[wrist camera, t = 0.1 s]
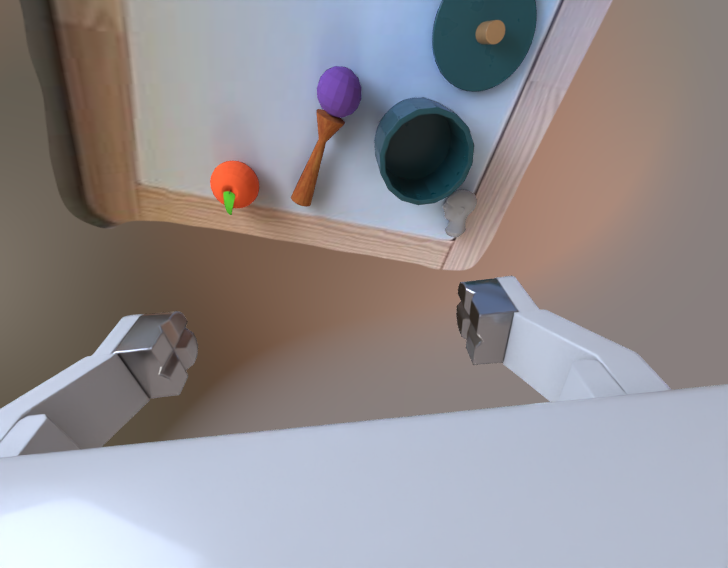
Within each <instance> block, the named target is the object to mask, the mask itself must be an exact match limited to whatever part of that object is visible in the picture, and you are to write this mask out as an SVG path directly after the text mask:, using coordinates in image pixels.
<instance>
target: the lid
mask: <svg viewBox="0 0 728 568" xmlns="http://www.w3.org/2000/svg"><path fill="white" fill-rule="evenodd" d="M536 19H537V10H536V2H535V0H443V1H442V2H441V4H440V7H439V9H438V12H437V14H436V18H435V21H434V27H433V35H432V45H433V53H434V57H435V61H436V64H437V66H438V68H439V70H440V72H441V73H442V75H443V76H444V77H445V79H447V80H448V81H449V82H450V83H451V84H452V85H454V86H456V87H458V88H460V89H463V90H466V91H483V90H487V89H490V88H493V87H495V86H497V85H499V84H500V83H502V82H503V81H505V80H506V79H507V78H508V77H510V76H511V75H512V74H513V73H514V72H515V70H516V69H517V68H518V67H519V66H520V64H521V63H522V61H523V60H524V58H525V56H526V54H527V52H528V50H529V48H530V46H531V43H532V40H533V37H534V33H535V28H536Z"/></svg>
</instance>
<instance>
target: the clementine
mask: <svg viewBox="0 0 728 568" xmlns="http://www.w3.org/2000/svg"><path fill="white" fill-rule="evenodd" d="M210 183H211V189H212V191H213V194H214V196H215V197H216V198H217V200H218V201H220V202H221V203H222V204H224V205H225V208H226V210H227V212H228V213H229V214H230V215H232V209H233V208H243V207H246V206H248V205H250V204H251V203H252V202H253V201H254V200H255V199H256V197H257V196H258V192H259V181H258V178H257V176H256V174H255V172H254V171H253V170H252V169H251V168H250V167H249V166H247V165H246V164H244V163H241V162H239V161H226V162H224V163H222V164H220V165H218V166H217V167H216V168H215V170H214V172H213V173H212V176H211V181H210Z"/></svg>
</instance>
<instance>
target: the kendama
mask: <svg viewBox="0 0 728 568" xmlns="http://www.w3.org/2000/svg"><path fill="white" fill-rule="evenodd" d="M317 98H318V100H319V103H320V105H321V107H322V108H323V109H324V110H322V109H317V122H318V134H319V140H318V142H317V144H316V146H315V148H314V150H313V152H312V154H311V156H310V159H309V161H308V163H307V165H306V167H305V169H304V171H303V173H302V175H301V177H300V179H299V181H298V183H297V186H296V188H295V190H294V192H293V194H292V196H291V199H292V200H293V201H294V202H295V203H297V204H298V205H301V206H310V205H311V201H312V197H313V193H314V189H315V185H316V181H317V177H318V172H319V168H320V164H321V160H322V156H323V152H324V148H325V144H326V142H327V141H328V140H329V139H330V138H331V137H332V136H333V135H334V134H335V133H336V132H337V131H338V130H339V129H340V128H341V127H342V126H343V125H344V124H345V122H344V121H343V120H342V119H341V118H343V117H346V116H348V115H351V114H352V113H353V112H354V111H355V110H356V109H357V108H358V106H359V103H360V101H361V85H360V82H359V79H358V77H357V76H356V75H355V74H354V73H353V72H352V71H351V70H350V69H348V68H346V67H337V66H335V67H332V68H330V69H328V70H326V71H325V73H324V74H323V75H322V76H321V78H320V80H319V84H318V87H317Z"/></svg>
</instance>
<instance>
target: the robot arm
mask: <svg viewBox="0 0 728 568" xmlns="http://www.w3.org/2000/svg"><path fill="white" fill-rule="evenodd" d="M458 295H459V297H460V300H461V302H460V303H459V304H458V305H457V313H456V315H457V324H458V328H459V331H460V334H461V336H462V337H463V338H465V339H466V340H467V342H466V349H467V351H468V354H469V356H470V359H471V361H472V363H473V365H478V364H490V363H503V364H504V365H505V366H507V367H508V368H509V369H510V370H512V371H513V372H514V373H515V374H516V375H518V376H519V377H520V378H521V379H523V380H524V381H525V382H526V383H528V384H529V385H530V386H532V387H533V388H534V389H535V390H536V391H538V392H539V393H540V394H542V395H543V396H544V397H545V398H546V399H548V400H549V401H550V402H547V403H537V404H527V405H517V406H507V407H497V408H487V409H479V410H468V411H458V412H448V413H438V414H429V415H418V416H408V417H398V418H388V419H378V420H368V421H358V422H348V423H339V424H328V425H319V426H308V427H299V428H289V429H279V430H269V431H259V432H249V433H239V434H229V435H220V436H210V437H200V438H191V439H181V440H170V441H160V442H150V443H140V444H131V445H121V446H111V447H102V446H103V445H104V444H105V443H106V442H107V441H108V440H109V439H110V438H111V437H112V436H113V435H114V434H115V433H116V432H117V431H118V430H119V429H120V428H122V427H123V425H125V424H126V423H127V422H128V421H129V420H130V419H131V418H132V417H133V416H134V415H135V414H136V413H137V412H138V411H139V410H140V409H141V408H142V407H143V406H144V405H145V404H146V403H147V402H148V401H149V400H150V398H158V397H166V396H173V395H180V393H181V391H182V389H183V386H184V384H185V382H186V380H187V378H188V374H187V372H186V370H187V369H188V368H189V367H191V366H192V365H193V364H194V362H195V360H196V358H197V352H198V344H197V340H196V337H195V335H194V333H192V332H191V331H189V330H188V329H186V328H185V327H186V324H187V320H186V318H185V316H184V315H183V313H181V312H178V311H174V312H162V313H149V314H139V315H129V316H126V317H123V318H122V319H121V320H120V321H119V323H118V324H117V325H116V327H115V328H114V329H113V330H112V331H111V333H110V334H109V335H108V336H107V338H106V339H105V340H104V341H103V343H102V344H101V345H100V346H99V348H98V349H97V350H96V352H95V353H94V354H93V355H92V356H88V357H85V358H83V359H82V360H80V361H78V362H77V363H75V364H73V365H72V366H70V367H69V368H67V369H65V370H64V371H62V372H60V373H59V374H57V375H55V376H54V377H52V378H51V379H49V380H47V381H46V382H44V383H42V384H41V385H39V386H37V387H36V388H34V389H33V390H31V391H29V392H27V393H26V394H24V395H23V396H21V397H19V398H18V399H16V400H14V401H13V402H11V403H9V404H8V405H6V406H5V407H3V408H1V409H0V568H728V384H725V385H715V386H705V387H696V388H686V389H676V390H672V389H670V387H669V386H668V385H667V384H666V383H665V382H664V381H663V380H662V379H661V378H660V377H659V376H658V375H657V374H656V373H655V372H654V370H653V369H652V368H651V367H650V366H649V365H648V364H647V363H646V362H645V361H644V360H643V359H642V358H641V357H640V356H639V355H638V354H637V353H636V352H634V351H632V350H630V349H628V348H626V347H623V346H621V345H619V344H617V343H615V342H613V341H611V340H609V339H606V338H604V337H602V336H600V335H598V334H596V333H594V332H592V331H590V330H587V329H585V328H583V327H581V326H579V325H577V324H575V323H573V322H571V321H568V320H566V319H564V318H562V317H560V316H558V315H556V314H553V313H551V312H549V311H547V310H539V308H538V307H537V306H536V304H535V303H534V302H533V300H532V299H531V298H530V297H529V295H528V294H527V292H526V291H525V290H524V288H523V287H522V286H521V284H520V283H519V282H518V280H517V279H516V278H515V277H513V276H505V277H499V278H494V279H486V280H476V281H467V282H460V284H459V288H458Z"/></svg>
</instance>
